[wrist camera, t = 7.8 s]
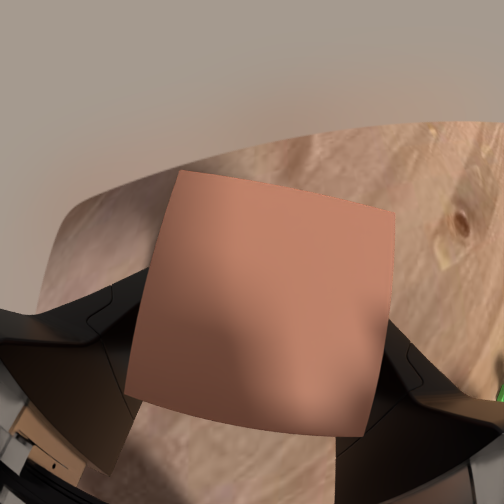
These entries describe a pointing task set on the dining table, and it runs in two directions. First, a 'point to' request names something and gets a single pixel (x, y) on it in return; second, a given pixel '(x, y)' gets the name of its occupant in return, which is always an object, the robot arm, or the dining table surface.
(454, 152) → the dining table surface
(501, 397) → the game piece
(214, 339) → the pillar brick
